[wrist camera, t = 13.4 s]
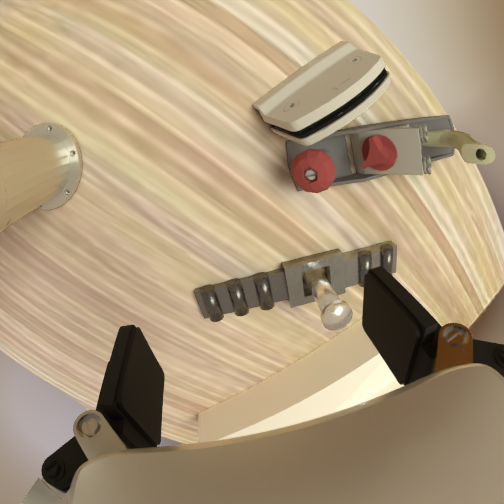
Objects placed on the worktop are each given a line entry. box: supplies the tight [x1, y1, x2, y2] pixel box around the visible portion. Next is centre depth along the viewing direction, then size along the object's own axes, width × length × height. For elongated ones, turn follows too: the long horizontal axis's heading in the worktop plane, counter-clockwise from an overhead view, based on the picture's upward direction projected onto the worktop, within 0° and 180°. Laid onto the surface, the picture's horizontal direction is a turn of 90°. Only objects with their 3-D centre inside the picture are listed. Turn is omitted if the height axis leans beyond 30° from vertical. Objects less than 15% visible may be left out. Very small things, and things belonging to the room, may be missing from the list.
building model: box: [198, 319, 404, 443], centre depth 54 cm, size 45×22×10 cm, turn 127°
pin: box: [304, 268, 353, 330], centre depth 40 cm, size 4×4×11 cm
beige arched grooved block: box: [253, 41, 391, 146], centre depth 30 cm, size 17×5×10 cm, turn 131°
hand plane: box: [286, 115, 495, 193], centre depth 31 cm, size 7×31×15 cm, turn 105°
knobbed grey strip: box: [195, 241, 397, 322], centre depth 43 cm, size 32×7×3 cm, turn 102°
